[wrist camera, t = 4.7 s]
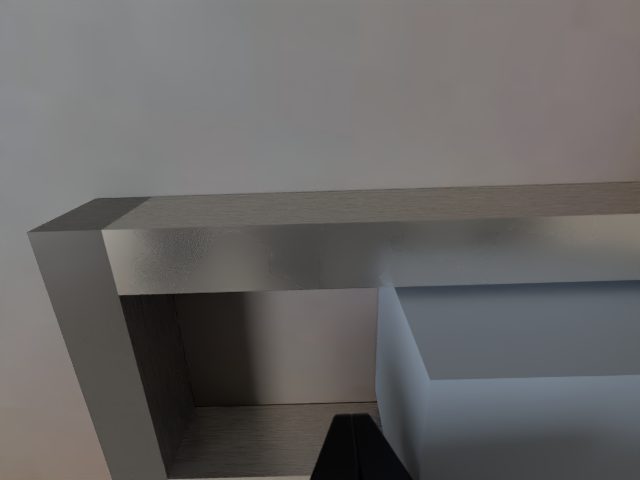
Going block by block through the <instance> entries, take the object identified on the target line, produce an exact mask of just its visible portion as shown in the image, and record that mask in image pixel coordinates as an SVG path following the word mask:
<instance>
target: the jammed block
mask: <svg viewBox="0 0 640 480" xmlns="http://www.w3.org/2000/svg"><path fill="white" fill-rule="evenodd" d="M375 392H376V398H377V403H378V408H379V413H380V419H381V424H382V429H383V434H384V436H385V438H386V439H387V441H388V442H389V444H390V445H391V447H392V449H393V450H394V452H395V453H396V455H397V456H398V458H399V459H400V461H401V462H402V464H403V465H404V467H405V468H406V470H407V471H408V473H409V474H410V476H411V477H412V479H413V480H640V280H617V281H583V282H549V283H514V284H480V285H446V286H412V287H379V297H378V323H377V350H376V377H375Z"/></svg>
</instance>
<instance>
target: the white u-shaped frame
mask: <svg viewBox="0 0 640 480" xmlns="http://www.w3.org/2000/svg"><path fill="white" fill-rule="evenodd" d="M27 234H28V237H29V240H30V243H31V246H32V248H33V251H34V254H35V257H36V260H37V263H38V266H39V269H40V272H41V274H42V277H43V280H44V283H45V286H46V289H47V292H48V295H49V298H50V300H51V303H52V306H53V309H54V312H55V315H56V318H57V321H58V324H59V326H60V329H61V332H62V335H63V338H64V341H65V344H66V347H67V350H68V352H69V355H70V358H71V361H72V364H73V367H74V370H75V373H76V376H77V378H78V381H79V384H80V387H81V390H82V393H83V396H84V399H85V402H86V404H87V407H88V410H89V413H90V416H91V419H92V422H93V425H94V428H95V430H96V433H97V436H98V439H99V442H100V445H101V448H102V451H103V454H104V457H105V459H106V462H107V465H108V468H109V471H110V474H111V477H112V480H310V477H311V475H312V472H313V469H314V467H315V464H316V461H317V459H318V456H319V453H320V451H321V448H322V445H323V443H324V440H325V437H326V435H327V432H328V429H329V427H330V424H331V422H332V419H333V417H334V415H335V414H353V413H368V414H370V415H371V417H372V418H373V420H374V421H375V423H376V424H377V426H378V427H379V429H380V430H381V432H382V433H383V429H382V424H381V419H380V413H379V408H378V403H377V402H375V403H339V404H303V405H267V406H231V407H195V404H194V399H193V394H192V389H191V385H190V380H189V375H188V370H187V365H186V360H185V355H184V350H183V345H182V340H181V335H180V331H179V326H178V321H177V316H176V311H175V306H174V301H173V296H172V294H174V293H208V292H242V291H276V290H310V289H344V288H378V287H412V286H446V285H480V284H514V283H549V282H583V281H617V280H640V182H621V183H589V184H556V185H524V186H491V187H459V188H426V189H394V190H361V191H328V192H296V193H263V194H231V195H198V196H166V197H133V198H101V199H94V200H92V201H90V202H88V203H86V204H84V205H82V206H79V207H77V208H75V209H73V210H71V211H69V212H67V213H65V214H63V215H61V216H59V217H57V218H55V219H53V220H51V221H49V222H47V223H45V224H43V225H41V226H39V227H37V228H35V229H33V230H31V231H29V232H27ZM383 435H384V434H383Z"/></svg>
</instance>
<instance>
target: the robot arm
mask: <svg viewBox="0 0 640 480" xmlns="http://www.w3.org/2000/svg"><path fill="white" fill-rule="evenodd" d="M310 480H413V479H412V477H411V476H410V474H409V473H408V471H407V470H406V468H405V467H404V465H403V464H402V462H401V461H400V459H399V458H398V456H397V455H396V453H395V452H394V450H393V449H392V447H391V445H390V444H389V442H388V441H387V439H386V438H385V436H384V435H383V433H382V432H381V430H380V429H379V427H378V426H377V424H376V423H375V421H374V420H373V418H372V417H371V415H370V414H368V413H353V414H335V415H334V417H333V419H332V422H331V424H330V427H329V429H328V432H327V435H326V437H325V440H324V443H323V445H322V448H321V451H320V453H319V456H318V459H317V461H316V464H315V467H314V469H313V472H312V475H311V477H310Z"/></svg>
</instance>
